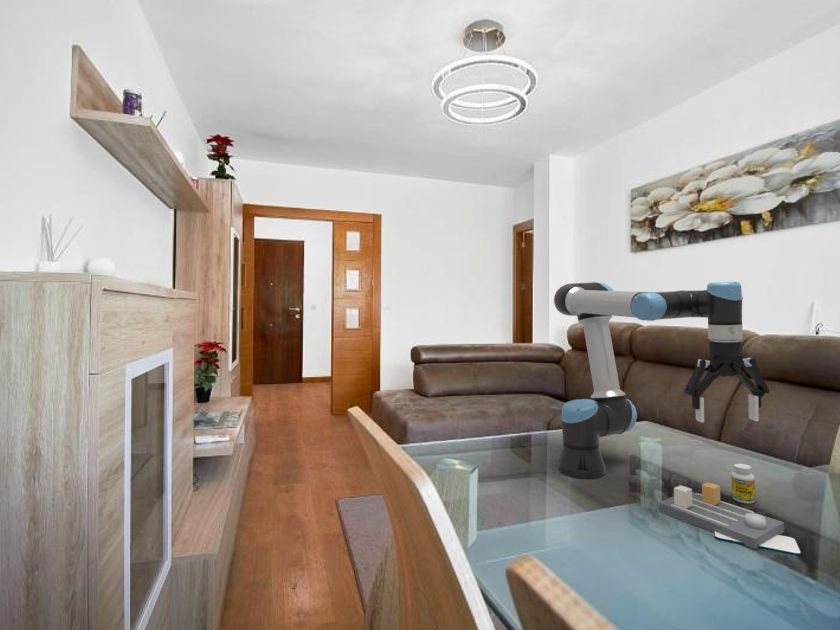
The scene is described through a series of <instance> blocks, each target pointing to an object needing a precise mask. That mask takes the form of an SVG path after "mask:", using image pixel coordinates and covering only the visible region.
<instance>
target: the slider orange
mask: <svg viewBox="0 0 840 630" xmlns="http://www.w3.org/2000/svg"><path fill="white" fill-rule="evenodd" d="M701 494H702V501H703V502H705V503H708V504H711V505H716V504H719V503H721V502H720V501H721V485H718V484H716V483H712V482H708V481H707V482H705V483H702V484H701Z"/></svg>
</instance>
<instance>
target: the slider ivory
mask: <svg viewBox="0 0 840 630" xmlns="http://www.w3.org/2000/svg"><path fill="white" fill-rule="evenodd" d="M692 492H693V489H692V488H690V487H687V486H684V485H681V484H680V485H678V486H675V487H673V496H674V505H677V506H679V507H682V508H685V509H687V508H689V507H691V506H692Z"/></svg>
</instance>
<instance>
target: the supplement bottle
mask: <svg viewBox="0 0 840 630" xmlns="http://www.w3.org/2000/svg"><path fill="white" fill-rule="evenodd" d="M730 475H731V493H732V499H733V500H734V501H736V502H738V503H742V504H747V505H748V504H749V505H750V504H754V503H756V501H757V499H756V498H757V495H756V494H757V493H756V477H755V475H754V474H753V473H752V466H751V465H748V464H745V463H735V464H733V471H732V472H731V474H730Z"/></svg>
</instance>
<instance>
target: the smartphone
mask: <svg viewBox="0 0 840 630" xmlns="http://www.w3.org/2000/svg"><path fill="white" fill-rule="evenodd" d="M713 536H714V539H715V540H716V541H720V542H725V543H731V544H736V545H740V546H744V547H746V546H745V544H744V543H743V542H740V541H738V540H735V539H733V538H730V537H728V536H725V535H723V534H721V533H718V532H716V531H714V533H713ZM757 549H761V550H767V551H772V552H776V553H777V552H778V553H782V554H788V555H793V556H801V555H802V551H801V549H800V546H799V545H798V542H797V540H796V538H794V537H791V536H788V535H783V534H781V535H776V536H775V537H773V538H771V539H769V540H768V541H766V542H764V543H762V544H761V545H759V546H758V548H757Z"/></svg>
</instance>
